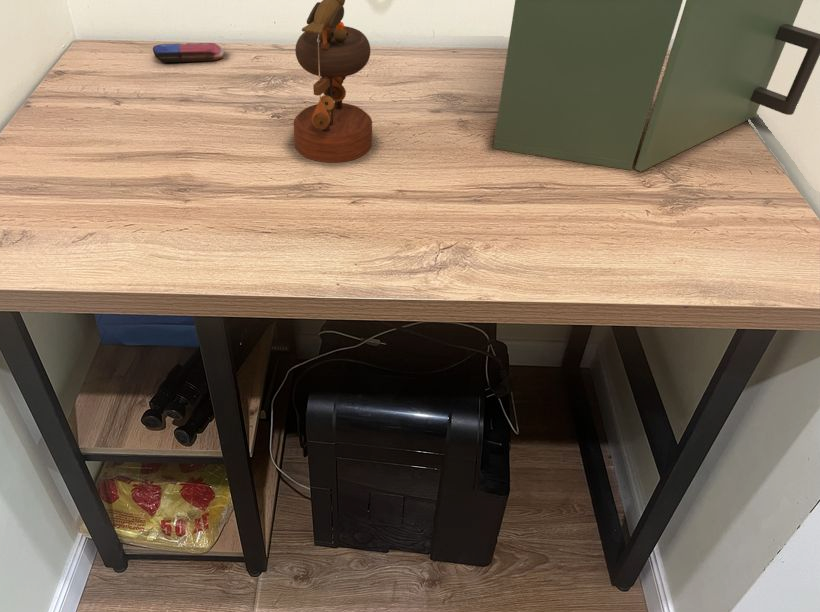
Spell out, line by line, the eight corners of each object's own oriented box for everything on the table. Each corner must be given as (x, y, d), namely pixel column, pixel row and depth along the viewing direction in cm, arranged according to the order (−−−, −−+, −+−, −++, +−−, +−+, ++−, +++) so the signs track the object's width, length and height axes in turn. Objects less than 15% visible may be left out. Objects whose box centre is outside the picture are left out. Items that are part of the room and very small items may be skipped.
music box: (373, 170, 92) (361, 6, 78) (289, 173, 93) (263, 12, 79) (379, 116, 103) (369, -36, 89) (303, 119, 104) (283, -30, 90)
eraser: (223, 52, 120) (222, 41, 119) (224, 61, 117) (223, 50, 116) (154, 53, 118) (153, 42, 117) (153, 63, 115) (151, 52, 114)
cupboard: (639, 88, 110) (691, -94, 93) (631, 170, 92) (694, -37, 75) (522, 72, 114) (552, -105, 97) (492, 148, 96) (523, -53, 79)
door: (793, 132, 100) (882, -62, 83) (679, 191, 88) (756, -20, 71) (748, 114, 104) (825, -74, 87) (634, 168, 92) (697, -36, 75)
